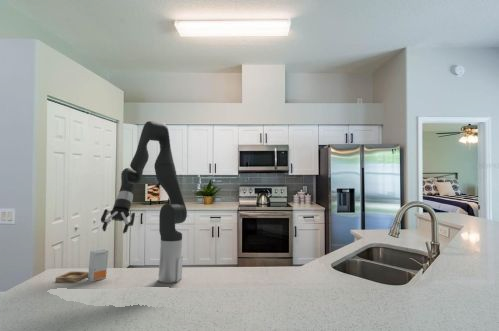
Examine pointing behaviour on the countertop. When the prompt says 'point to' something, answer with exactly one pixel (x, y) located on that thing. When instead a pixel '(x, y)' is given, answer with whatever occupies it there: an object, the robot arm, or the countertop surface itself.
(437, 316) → the countertop surface
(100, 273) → the skincare box
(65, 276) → the tray
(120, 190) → the robot arm
